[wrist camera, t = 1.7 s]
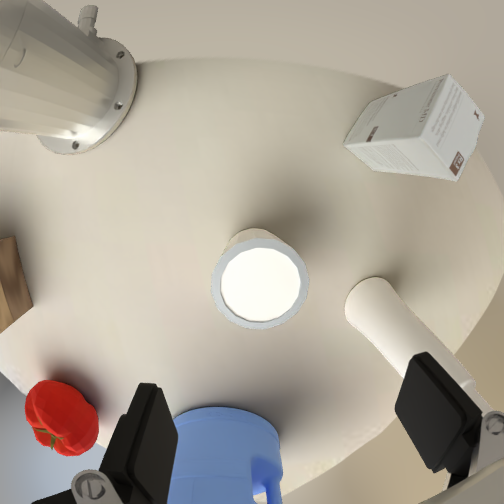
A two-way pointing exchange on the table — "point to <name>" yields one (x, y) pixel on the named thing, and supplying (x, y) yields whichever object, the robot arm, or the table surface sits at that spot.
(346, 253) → the table surface
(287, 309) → the white cup
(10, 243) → the tower base block
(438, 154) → the skincare box
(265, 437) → the water jug
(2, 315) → the tower top block
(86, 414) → the tomato
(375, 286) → the cosmetic bottle
